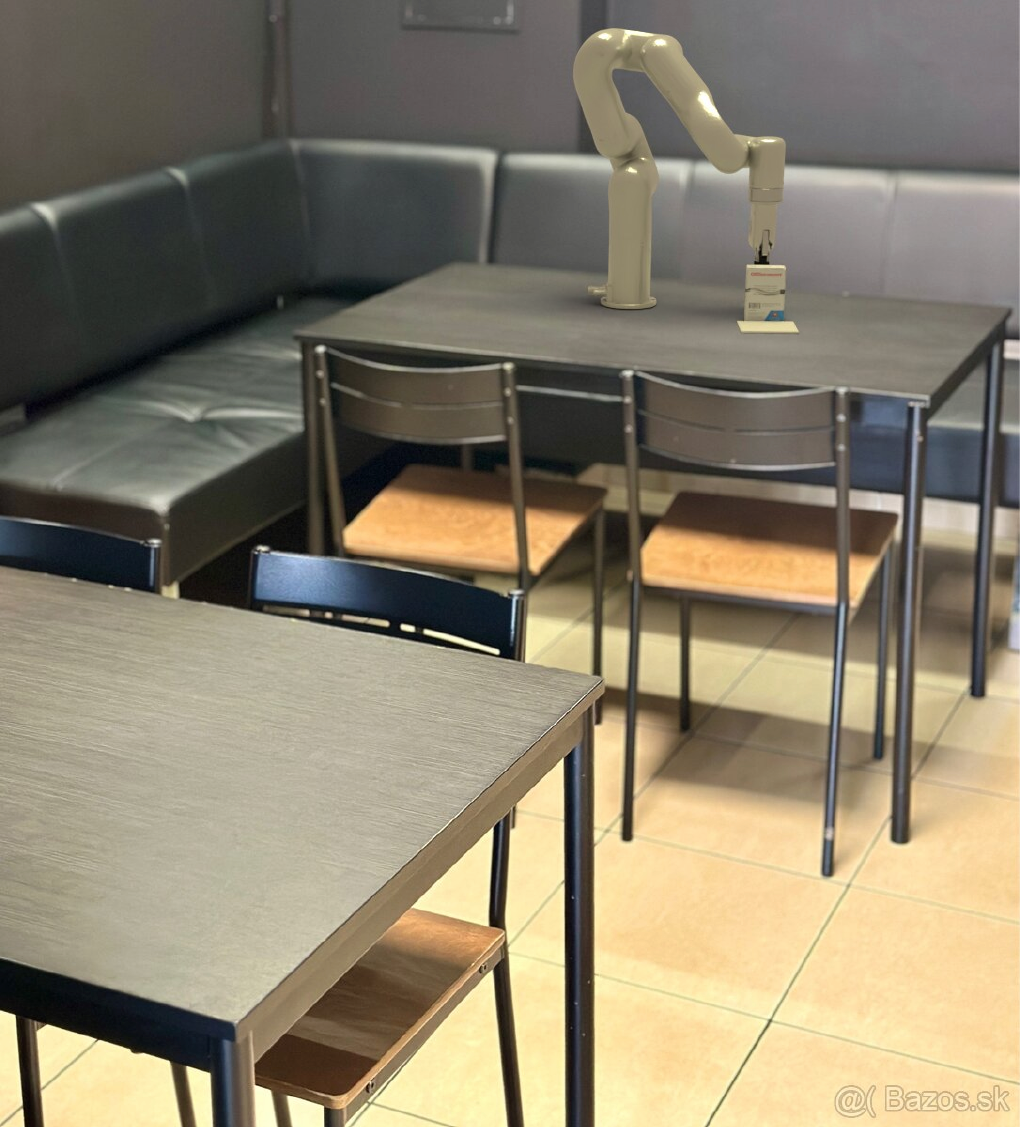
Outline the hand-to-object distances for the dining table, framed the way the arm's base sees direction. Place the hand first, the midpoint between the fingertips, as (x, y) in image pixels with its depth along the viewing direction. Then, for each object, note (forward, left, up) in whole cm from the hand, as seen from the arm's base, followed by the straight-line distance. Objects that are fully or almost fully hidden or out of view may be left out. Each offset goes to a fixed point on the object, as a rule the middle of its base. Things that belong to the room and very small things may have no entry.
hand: (760, 279), depth 353 cm
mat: (0, -18, -7) cm, 19 cm away
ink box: (0, -9, -7) cm, 12 cm away
